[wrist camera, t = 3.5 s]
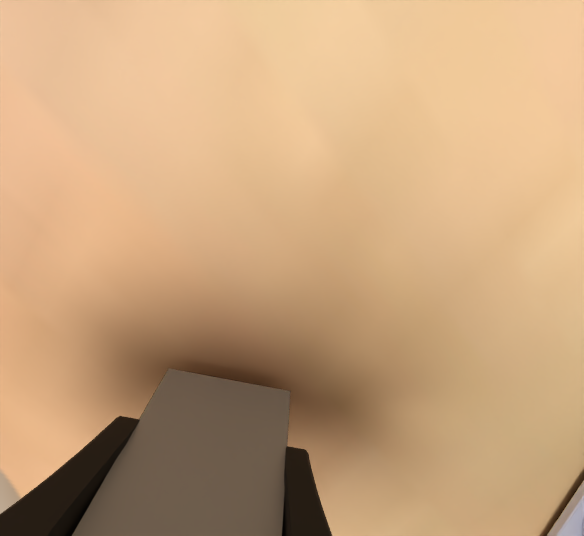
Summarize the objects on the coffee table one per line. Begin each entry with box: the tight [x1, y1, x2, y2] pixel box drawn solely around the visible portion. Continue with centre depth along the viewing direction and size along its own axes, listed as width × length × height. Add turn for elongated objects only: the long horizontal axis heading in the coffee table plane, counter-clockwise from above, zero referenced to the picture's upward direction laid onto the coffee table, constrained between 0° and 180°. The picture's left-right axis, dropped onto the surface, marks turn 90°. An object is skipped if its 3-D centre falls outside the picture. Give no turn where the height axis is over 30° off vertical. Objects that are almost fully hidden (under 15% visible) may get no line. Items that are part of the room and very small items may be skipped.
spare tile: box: [72, 368, 290, 536], centre depth 10 cm, size 4×2×8 cm, turn 79°
